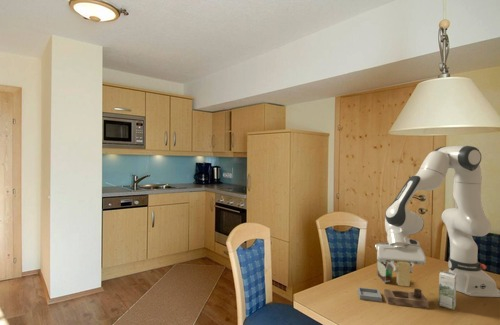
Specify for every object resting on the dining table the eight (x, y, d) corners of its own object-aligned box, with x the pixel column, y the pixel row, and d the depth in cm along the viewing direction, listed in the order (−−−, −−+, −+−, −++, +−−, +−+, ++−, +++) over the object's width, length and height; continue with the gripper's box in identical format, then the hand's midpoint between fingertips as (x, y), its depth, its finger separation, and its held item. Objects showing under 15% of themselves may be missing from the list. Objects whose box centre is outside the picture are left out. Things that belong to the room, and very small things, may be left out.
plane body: (422, 299, 132) (422, 286, 132) (428, 308, 125) (428, 295, 124) (384, 295, 136) (384, 282, 136) (388, 303, 128) (388, 290, 128)
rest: (378, 293, 138) (378, 289, 138) (381, 302, 130) (381, 297, 130) (357, 291, 140) (357, 287, 140) (360, 299, 132) (360, 295, 132)
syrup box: (456, 305, 127) (457, 273, 127) (453, 310, 123) (454, 277, 123) (440, 301, 131) (441, 269, 131) (438, 305, 127) (439, 273, 127)
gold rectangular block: (407, 283, 132) (407, 261, 131) (409, 286, 128) (409, 264, 128) (396, 282, 133) (396, 260, 132) (398, 285, 129) (398, 263, 129)
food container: (398, 285, 147) (398, 265, 147) (386, 284, 147) (386, 265, 147) (387, 275, 159) (387, 257, 159) (376, 274, 160) (376, 256, 159)
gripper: (375, 239, 139) (379, 266, 130) (422, 241, 134) (430, 270, 125) (373, 245, 144) (377, 272, 134) (419, 248, 139) (426, 276, 129)
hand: (403, 271), depth 130 cm, fingers closed on gold rectangular block, 4 cm apart
